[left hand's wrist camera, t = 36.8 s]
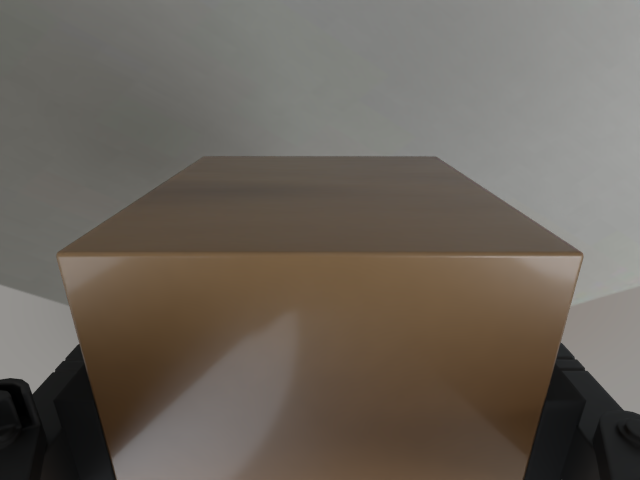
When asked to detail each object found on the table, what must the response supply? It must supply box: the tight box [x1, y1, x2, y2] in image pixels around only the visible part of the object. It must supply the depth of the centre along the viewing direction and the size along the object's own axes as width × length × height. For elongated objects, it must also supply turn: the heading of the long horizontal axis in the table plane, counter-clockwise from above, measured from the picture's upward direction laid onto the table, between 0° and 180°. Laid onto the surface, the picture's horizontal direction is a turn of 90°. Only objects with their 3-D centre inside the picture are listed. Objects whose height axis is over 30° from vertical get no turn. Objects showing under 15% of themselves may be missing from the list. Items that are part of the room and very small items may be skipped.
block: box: [56, 156, 583, 480], centre depth 12 cm, size 9×9×9 cm
